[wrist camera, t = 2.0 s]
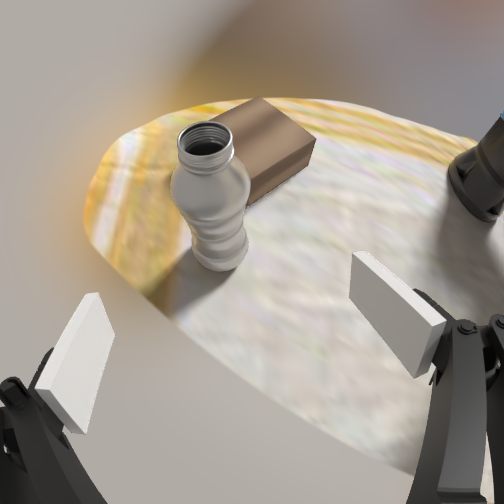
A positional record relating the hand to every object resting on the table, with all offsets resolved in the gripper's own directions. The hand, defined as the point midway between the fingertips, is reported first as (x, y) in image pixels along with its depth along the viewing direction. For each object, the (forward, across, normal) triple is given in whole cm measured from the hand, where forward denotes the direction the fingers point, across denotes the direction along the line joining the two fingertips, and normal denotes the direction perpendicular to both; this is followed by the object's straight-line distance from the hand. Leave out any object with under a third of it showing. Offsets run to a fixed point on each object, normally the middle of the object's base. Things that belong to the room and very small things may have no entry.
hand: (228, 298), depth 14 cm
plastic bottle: (+22, 0, -7) cm, 23 cm away
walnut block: (+32, +7, +4) cm, 33 cm away
